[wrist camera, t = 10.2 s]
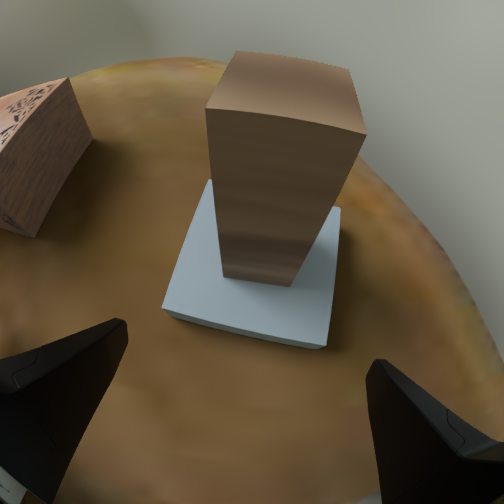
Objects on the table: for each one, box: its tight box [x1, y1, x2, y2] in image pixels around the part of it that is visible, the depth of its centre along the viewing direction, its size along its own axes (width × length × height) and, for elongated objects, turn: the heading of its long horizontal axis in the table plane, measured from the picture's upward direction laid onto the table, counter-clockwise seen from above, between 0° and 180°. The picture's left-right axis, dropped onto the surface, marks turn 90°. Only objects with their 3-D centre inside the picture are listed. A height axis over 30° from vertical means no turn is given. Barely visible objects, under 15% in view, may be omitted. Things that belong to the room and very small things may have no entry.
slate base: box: [162, 179, 341, 350], centre depth 20 cm, size 11×11×2 cm
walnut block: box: [205, 51, 367, 287], centre depth 14 cm, size 4×4×13 cm
